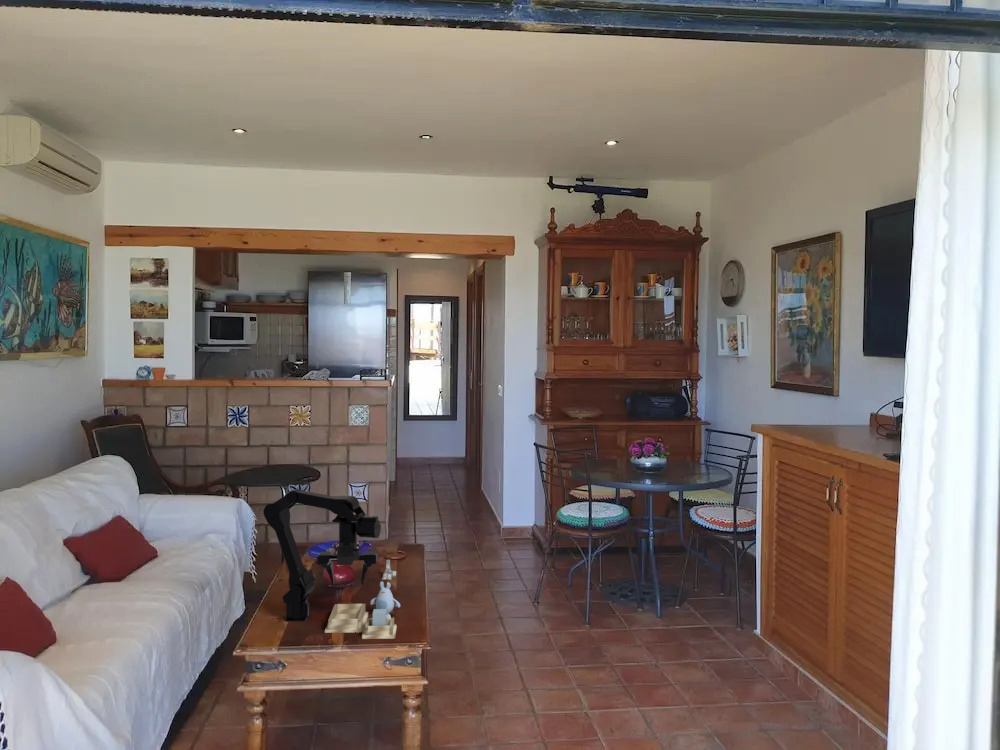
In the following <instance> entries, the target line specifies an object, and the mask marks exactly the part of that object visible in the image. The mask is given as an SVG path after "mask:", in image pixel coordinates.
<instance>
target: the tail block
mask: <svg viewBox="0 0 1000 750" xmlns="http://www.w3.org/2000/svg"><path fill="white" fill-rule="evenodd" d="M372 618H373V626H387V609H377V608H374V609H373V611H372Z"/></svg>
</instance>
